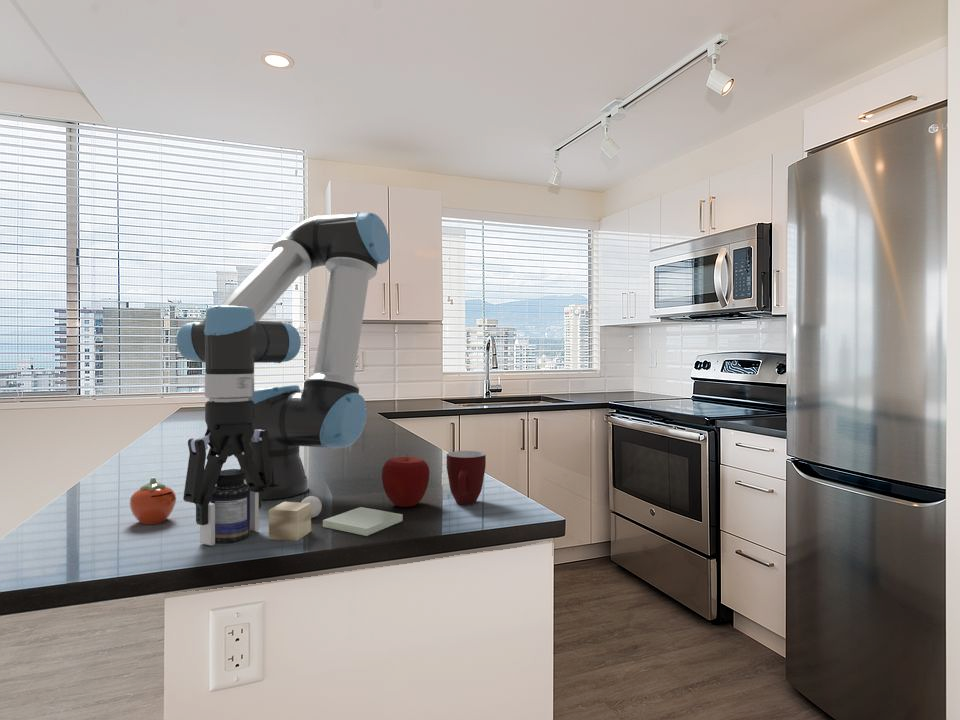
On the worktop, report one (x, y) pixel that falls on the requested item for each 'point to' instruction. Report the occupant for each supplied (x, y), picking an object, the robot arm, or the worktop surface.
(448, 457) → the mug
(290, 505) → the maple block
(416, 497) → the apple
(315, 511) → the grey ball
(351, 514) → the coaster
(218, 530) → the pill bottle
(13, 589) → the worktop surface
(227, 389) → the robot arm
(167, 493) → the tomato
